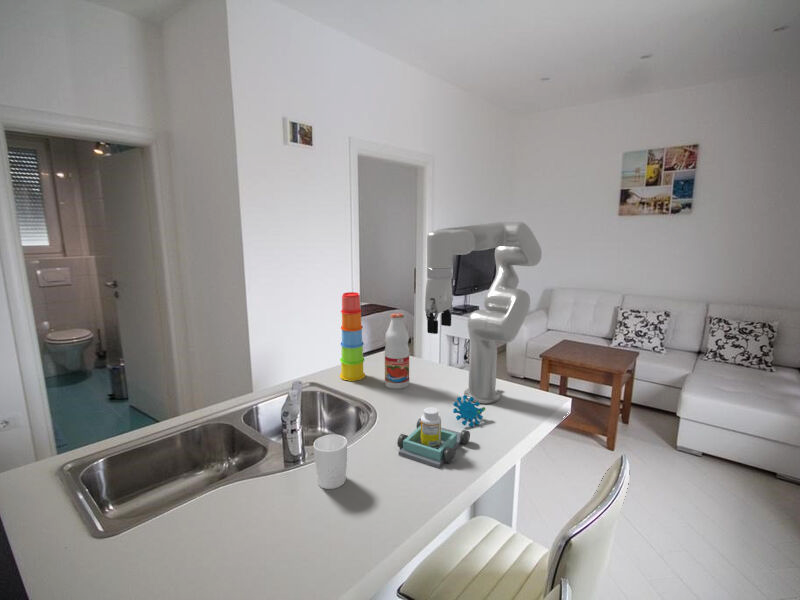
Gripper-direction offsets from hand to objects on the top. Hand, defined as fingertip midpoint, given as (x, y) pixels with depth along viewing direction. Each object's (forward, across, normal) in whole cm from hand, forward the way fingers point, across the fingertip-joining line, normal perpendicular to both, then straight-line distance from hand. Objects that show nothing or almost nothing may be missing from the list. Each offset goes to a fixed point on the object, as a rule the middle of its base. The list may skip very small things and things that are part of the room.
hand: (439, 329), depth 125 cm
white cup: (+29, +42, -9) cm, 52 cm away
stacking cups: (+30, -16, -46) cm, 58 cm away
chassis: (+29, +15, +5) cm, 34 cm away
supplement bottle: (+28, +17, +5) cm, 34 cm away
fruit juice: (+30, -18, -26) cm, 44 cm away
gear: (+30, -3, +9) cm, 32 cm away
